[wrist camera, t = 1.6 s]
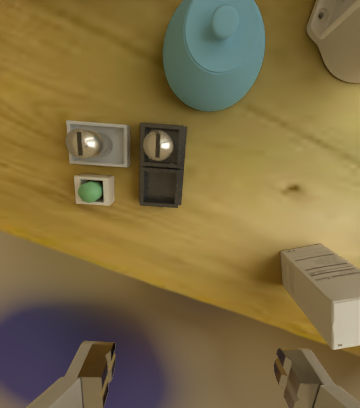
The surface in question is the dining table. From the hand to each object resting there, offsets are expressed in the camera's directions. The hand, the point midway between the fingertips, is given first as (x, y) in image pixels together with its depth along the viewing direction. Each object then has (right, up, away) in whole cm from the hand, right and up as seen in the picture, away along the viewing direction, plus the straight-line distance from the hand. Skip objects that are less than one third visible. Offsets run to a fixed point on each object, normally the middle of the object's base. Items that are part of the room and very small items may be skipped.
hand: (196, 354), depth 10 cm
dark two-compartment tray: (-4, +15, +27) cm, 31 cm away
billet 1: (-15, +18, +25) cm, 35 cm away
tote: (-15, +18, +26) cm, 35 cm away
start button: (-16, +10, +26) cm, 32 cm away
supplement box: (+26, -6, +33) cm, 42 cm away
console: (-16, +11, +28) cm, 34 cm away
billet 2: (-4, +18, +25) cm, 31 cm away
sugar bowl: (+4, +31, +23) cm, 38 cm away
